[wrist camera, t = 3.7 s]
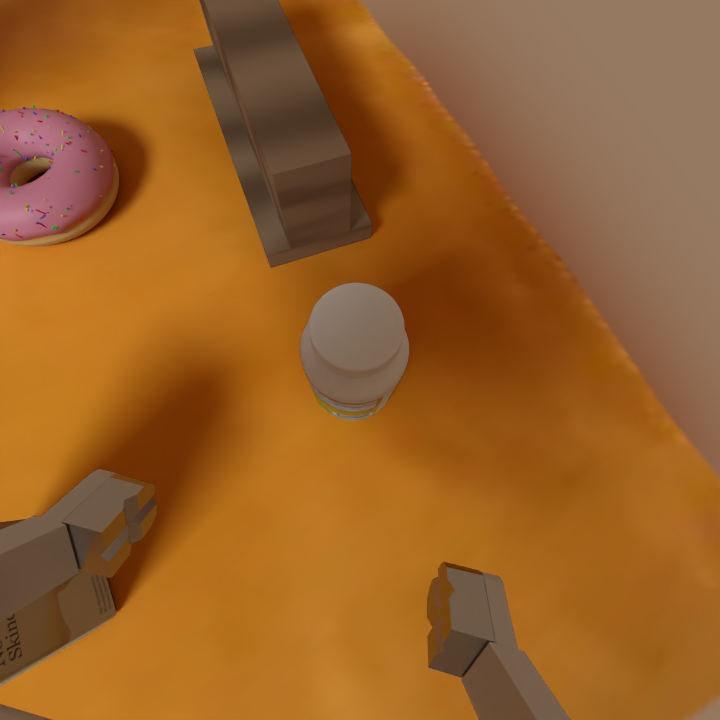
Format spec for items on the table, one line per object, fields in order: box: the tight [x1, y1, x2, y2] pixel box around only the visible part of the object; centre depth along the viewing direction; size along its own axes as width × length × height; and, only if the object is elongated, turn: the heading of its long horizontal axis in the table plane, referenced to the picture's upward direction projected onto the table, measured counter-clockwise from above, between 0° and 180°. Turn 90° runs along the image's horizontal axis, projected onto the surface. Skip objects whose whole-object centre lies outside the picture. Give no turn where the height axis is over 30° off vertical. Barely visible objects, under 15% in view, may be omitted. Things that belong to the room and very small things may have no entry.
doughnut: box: [0, 105, 119, 246], centre depth 25 cm, size 11×11×4 cm
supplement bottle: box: [300, 283, 409, 420], centre depth 19 cm, size 5×5×10 cm
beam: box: [193, 0, 372, 267], centre depth 26 cm, size 22×8×8 cm, turn 21°
